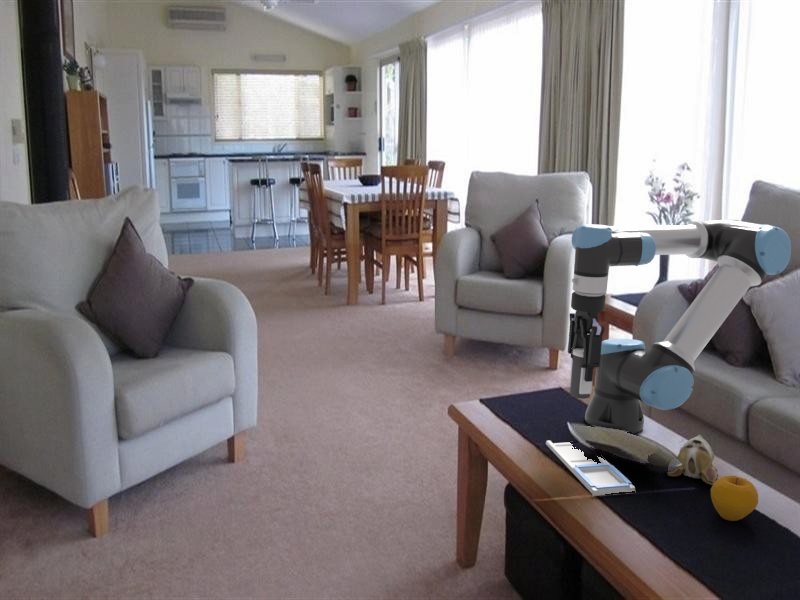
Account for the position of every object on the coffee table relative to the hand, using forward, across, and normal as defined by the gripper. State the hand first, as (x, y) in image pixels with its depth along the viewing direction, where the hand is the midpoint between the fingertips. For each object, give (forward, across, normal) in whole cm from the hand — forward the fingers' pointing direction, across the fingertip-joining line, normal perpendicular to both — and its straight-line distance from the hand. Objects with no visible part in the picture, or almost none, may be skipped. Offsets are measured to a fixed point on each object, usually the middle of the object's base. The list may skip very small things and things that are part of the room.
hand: (580, 389), depth 174 cm
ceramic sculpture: (+17, +14, +23) cm, 32 cm away
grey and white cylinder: (+1, 0, 0) cm, 1 cm away
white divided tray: (+17, +7, 0) cm, 18 cm away
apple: (+17, +33, +19) cm, 42 cm away
